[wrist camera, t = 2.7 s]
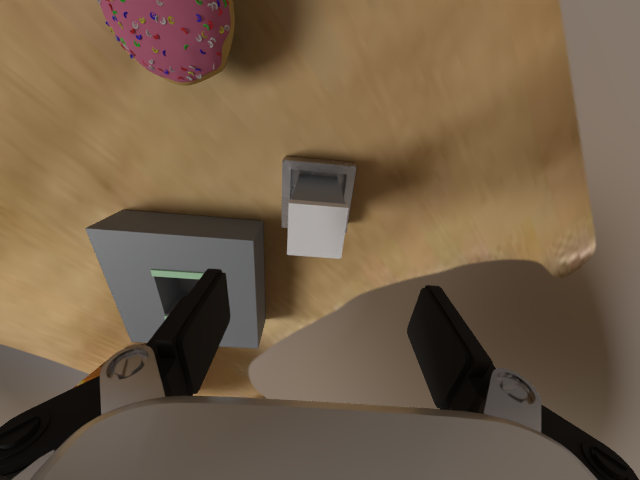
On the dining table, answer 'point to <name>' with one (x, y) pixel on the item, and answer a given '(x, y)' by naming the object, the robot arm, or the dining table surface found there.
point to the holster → (315, 167)
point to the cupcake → (174, 35)
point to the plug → (317, 217)
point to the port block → (181, 268)
